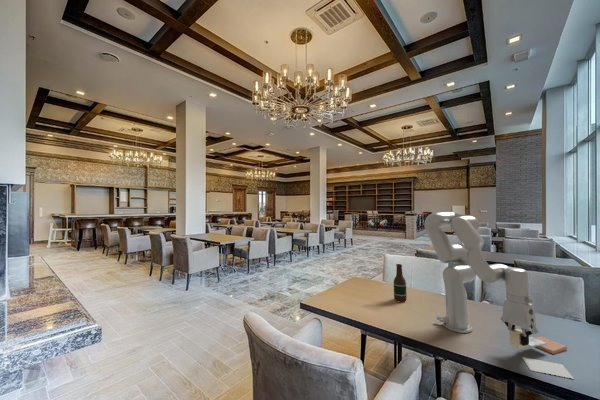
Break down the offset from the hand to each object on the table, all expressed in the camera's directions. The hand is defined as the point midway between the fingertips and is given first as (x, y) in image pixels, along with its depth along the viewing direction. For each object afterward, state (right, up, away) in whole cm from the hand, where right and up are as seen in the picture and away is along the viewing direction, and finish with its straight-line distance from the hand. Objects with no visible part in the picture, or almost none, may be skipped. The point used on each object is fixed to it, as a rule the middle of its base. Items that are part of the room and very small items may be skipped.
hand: (519, 341), depth 106 cm
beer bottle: (-25, -8, +63) cm, 68 cm away
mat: (+3, -5, -9) cm, 11 cm away
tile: (+12, -5, +4) cm, 14 cm away
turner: (+5, -2, +1) cm, 5 cm away
